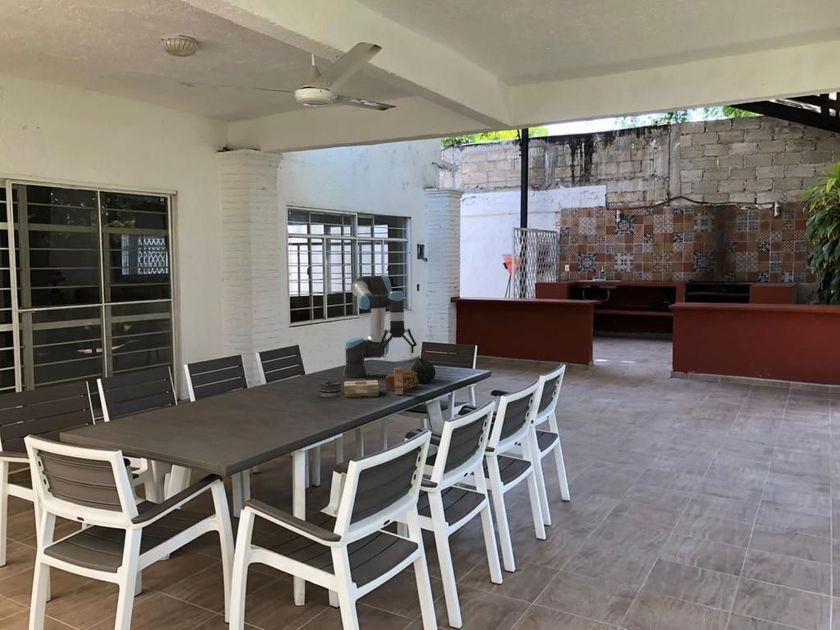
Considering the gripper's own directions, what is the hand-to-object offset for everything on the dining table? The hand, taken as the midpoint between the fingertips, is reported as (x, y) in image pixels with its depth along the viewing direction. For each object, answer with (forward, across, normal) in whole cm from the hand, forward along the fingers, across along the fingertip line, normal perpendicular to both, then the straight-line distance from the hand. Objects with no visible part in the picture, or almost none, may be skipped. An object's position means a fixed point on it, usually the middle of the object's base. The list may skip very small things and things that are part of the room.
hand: (398, 359), depth 351 cm
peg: (+18, 0, 0) cm, 19 cm away
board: (+18, -20, +4) cm, 28 cm away
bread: (+19, +3, +16) cm, 25 cm away
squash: (+18, +17, +32) cm, 40 cm away
